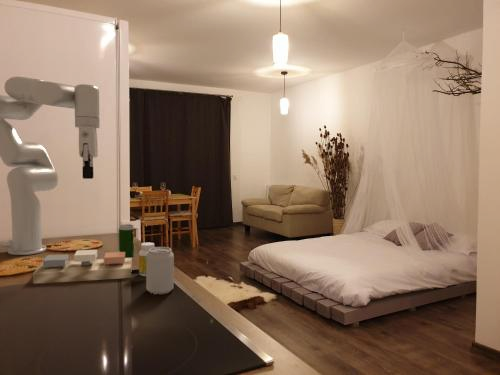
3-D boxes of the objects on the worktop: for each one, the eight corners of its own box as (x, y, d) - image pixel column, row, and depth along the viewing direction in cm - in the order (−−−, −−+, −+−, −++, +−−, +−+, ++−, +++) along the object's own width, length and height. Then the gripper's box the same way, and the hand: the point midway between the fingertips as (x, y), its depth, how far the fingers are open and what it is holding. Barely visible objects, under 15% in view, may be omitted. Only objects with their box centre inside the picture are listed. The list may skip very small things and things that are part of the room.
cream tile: (74, 267, 120) (74, 255, 119) (77, 261, 125) (77, 250, 125) (95, 266, 121) (95, 254, 121) (97, 260, 127) (97, 249, 127)
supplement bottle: (141, 277, 122) (141, 246, 121) (137, 272, 127) (137, 242, 126) (158, 275, 125) (158, 244, 124) (154, 270, 129) (154, 241, 128)
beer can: (121, 261, 138) (120, 227, 137) (116, 257, 143) (116, 225, 142) (136, 259, 141) (136, 226, 140) (131, 256, 146) (131, 223, 145)
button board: (33, 283, 114) (33, 273, 114) (43, 271, 126) (42, 261, 125) (131, 277, 121) (131, 268, 121) (131, 266, 133) (131, 257, 133)
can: (160, 297, 106) (160, 253, 105) (140, 291, 110) (140, 249, 109) (179, 289, 112) (179, 248, 111) (159, 284, 116) (160, 244, 115)
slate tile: (43, 272, 117) (42, 260, 117) (47, 266, 123) (47, 255, 123) (65, 271, 119) (65, 259, 119) (68, 265, 125) (68, 254, 124)
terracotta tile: (104, 269, 122) (104, 257, 122) (105, 263, 128) (105, 252, 127) (124, 268, 124) (124, 256, 123) (125, 262, 129) (125, 251, 129)
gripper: (97, 122, 125) (97, 180, 127) (101, 124, 139) (102, 176, 141) (71, 121, 123) (72, 180, 125) (78, 124, 137) (79, 176, 139)
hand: (88, 178), depth 133 cm, fingers closed
